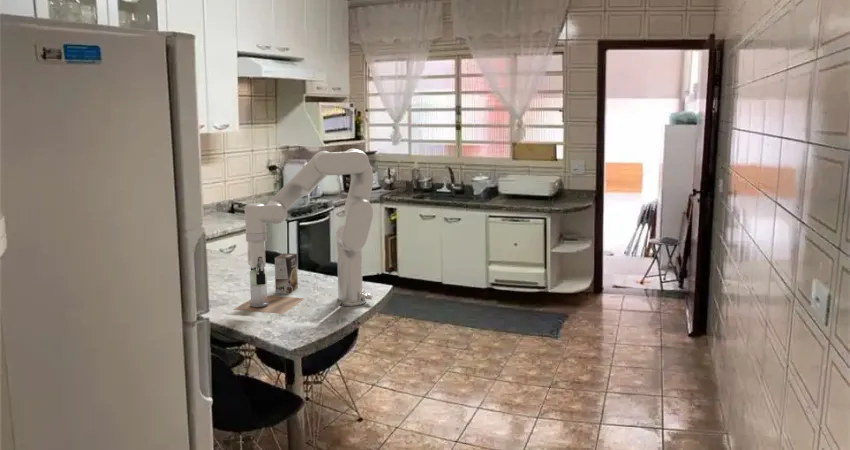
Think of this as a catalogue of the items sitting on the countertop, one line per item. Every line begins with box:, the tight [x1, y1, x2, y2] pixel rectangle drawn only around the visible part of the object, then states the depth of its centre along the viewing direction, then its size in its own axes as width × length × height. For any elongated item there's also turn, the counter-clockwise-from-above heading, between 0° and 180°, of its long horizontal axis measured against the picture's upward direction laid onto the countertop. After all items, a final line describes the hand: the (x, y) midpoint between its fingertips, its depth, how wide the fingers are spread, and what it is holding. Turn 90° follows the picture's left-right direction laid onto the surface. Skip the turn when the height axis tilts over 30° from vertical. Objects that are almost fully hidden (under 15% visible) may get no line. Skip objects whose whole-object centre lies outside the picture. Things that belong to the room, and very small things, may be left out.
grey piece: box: [249, 284, 268, 308], centre depth 261 cm, size 7×7×8 cm
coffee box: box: [274, 253, 299, 295], centre depth 282 cm, size 9×6×16 cm
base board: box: [233, 294, 305, 315], centre depth 264 cm, size 20×20×2 cm
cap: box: [249, 268, 268, 287], centre depth 260 cm, size 6×6×6 cm
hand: (258, 281), depth 260 cm, fingers open, 9 cm apart
